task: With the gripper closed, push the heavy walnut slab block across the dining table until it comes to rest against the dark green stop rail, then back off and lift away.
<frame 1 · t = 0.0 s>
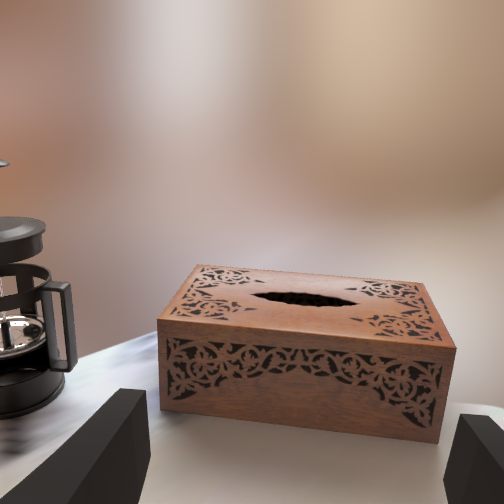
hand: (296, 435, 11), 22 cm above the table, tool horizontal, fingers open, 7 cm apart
tissue box cover: (297, 385, 51), on the table
french press: (20, 391, 48), on the table
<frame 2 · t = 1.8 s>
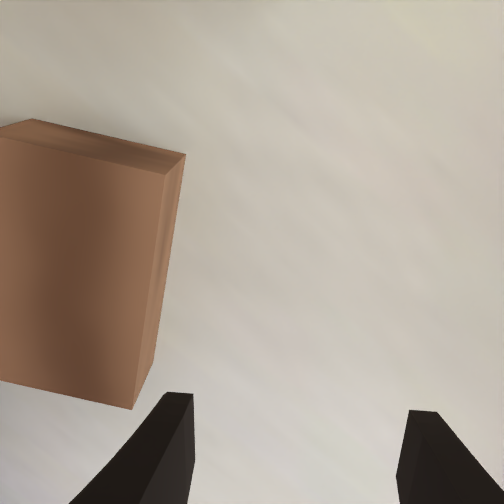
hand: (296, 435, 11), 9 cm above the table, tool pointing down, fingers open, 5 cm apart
slab: (101, 250, 20), on the table
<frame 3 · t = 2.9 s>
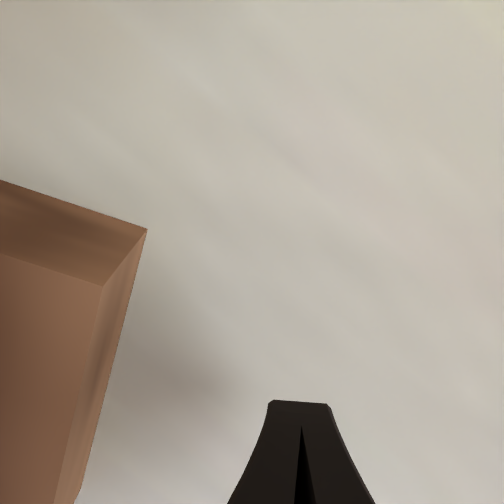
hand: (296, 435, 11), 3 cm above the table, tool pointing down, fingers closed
slab: (16, 339, 14), on the table
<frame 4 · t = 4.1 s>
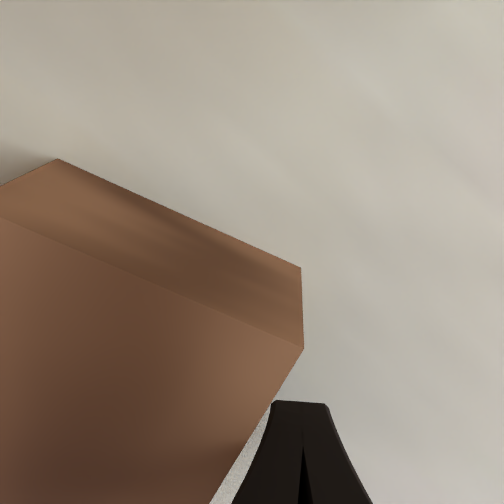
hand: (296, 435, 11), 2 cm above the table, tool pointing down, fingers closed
slab: (119, 367, 13), on the table, touching gripper
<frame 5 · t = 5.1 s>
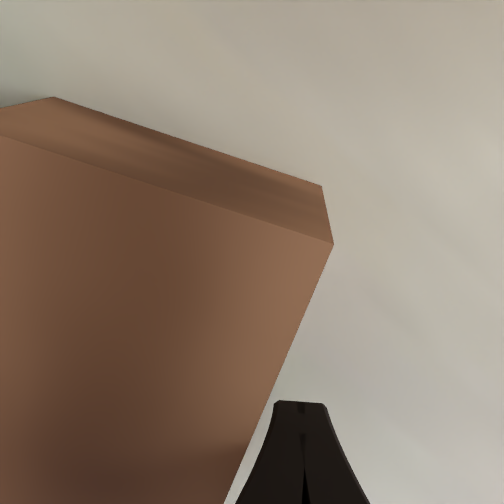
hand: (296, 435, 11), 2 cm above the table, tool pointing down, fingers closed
slab: (143, 324, 12), on the table, touching gripper
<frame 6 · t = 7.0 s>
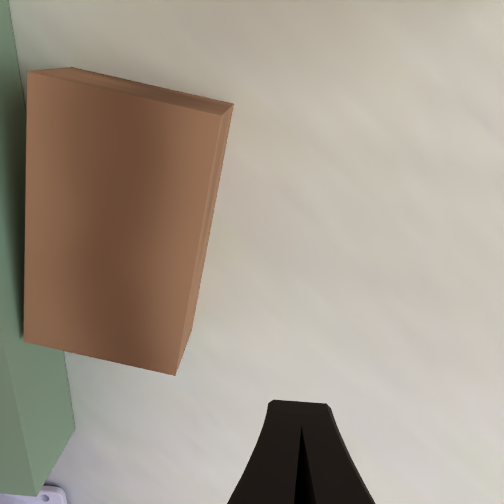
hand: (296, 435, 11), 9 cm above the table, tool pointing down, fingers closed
stop rail: (12, 246, 20), on the table
slab: (140, 210, 20), on the table
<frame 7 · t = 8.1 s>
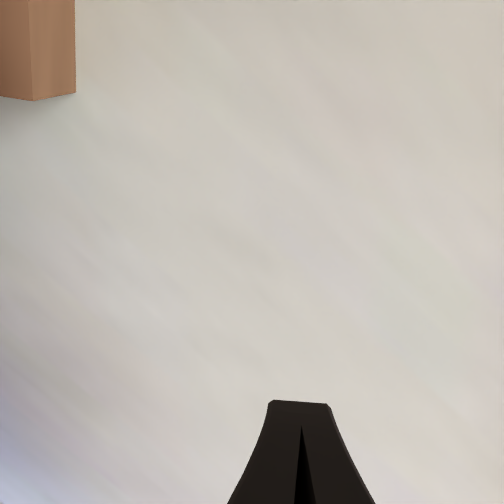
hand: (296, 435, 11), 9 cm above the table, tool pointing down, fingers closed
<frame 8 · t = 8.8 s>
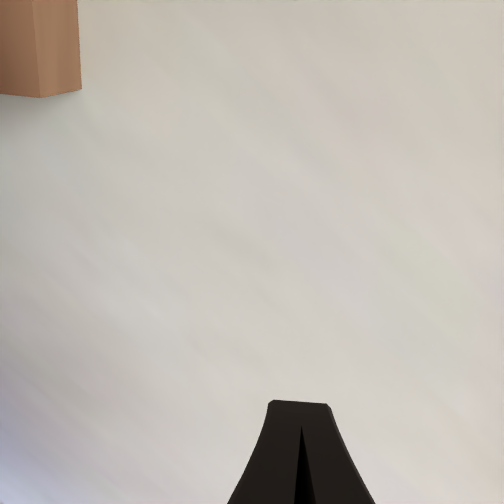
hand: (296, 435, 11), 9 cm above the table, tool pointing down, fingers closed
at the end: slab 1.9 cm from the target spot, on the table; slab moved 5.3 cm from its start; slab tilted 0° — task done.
